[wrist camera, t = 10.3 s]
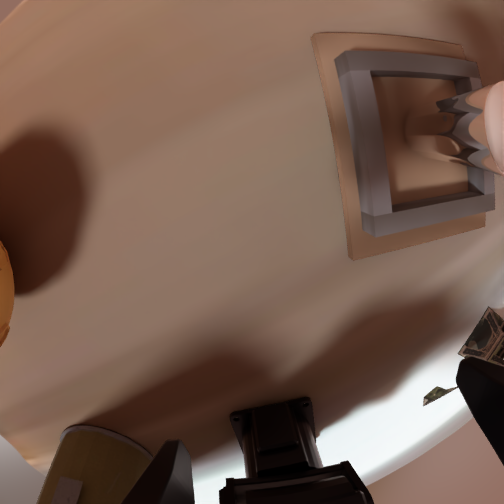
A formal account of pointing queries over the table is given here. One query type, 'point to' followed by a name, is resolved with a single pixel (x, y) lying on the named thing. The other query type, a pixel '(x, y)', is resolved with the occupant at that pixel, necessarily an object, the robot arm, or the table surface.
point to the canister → (93, 467)
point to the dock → (396, 140)
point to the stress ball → (5, 293)
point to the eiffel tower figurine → (479, 347)
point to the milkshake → (461, 129)
